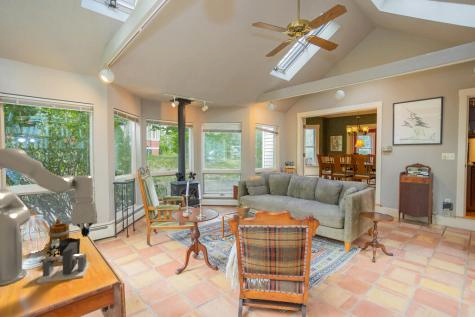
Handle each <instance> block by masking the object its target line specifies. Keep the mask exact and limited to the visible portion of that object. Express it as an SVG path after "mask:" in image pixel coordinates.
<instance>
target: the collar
mask: <svg viewBox="0 0 475 317" xmlns="http://www.w3.org/2000/svg"><path fill="white" fill-rule="evenodd" d="M75 254H77V242H72V243H70V244H69V245H68V246H67V247H66V249H65V250H64V251H63V261H62V266H63V275H65V274H70V273H71V272H72V270H73V269H74V267H75V266H76V264H78V260H73V255H75Z"/></svg>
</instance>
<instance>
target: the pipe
mask: <svg viewBox="0 0 475 317" xmlns="http://www.w3.org/2000/svg"><path fill="white" fill-rule="evenodd" d="M73 260H77V264H78V272H81V271H84V269H85V268H86V263H87V253H84V252H83V253H79V254H75V255H73ZM60 262H63V256H60V255H56V257H53V256H51V257H49V256H47V257H45V258H44V261H43V262H42V275H43V276H49V275H50V274H51V273H52V271H53V267H54V263H60Z"/></svg>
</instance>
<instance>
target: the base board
mask: <svg viewBox="0 0 475 317" xmlns="http://www.w3.org/2000/svg"><path fill="white" fill-rule="evenodd" d="M90 265H91V261H89V262H88V261H87V262H86V268H85V269H84V271H81V272H78V263H77V264H76V266H75V267H74V269H73V270H72V272H71V273H70V274H65V275H63V265H57V266H53V271H52V273H51V274H50V275H49V276H43V274H42V275H41V276H40V277H39V278H38V279H37V281H36V284H43V283H44V284H45V283H51V282H58V281H64V280H72V279H79V278H84V277H85V274H86V272H87V271H88V269H89V267H90Z"/></svg>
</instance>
